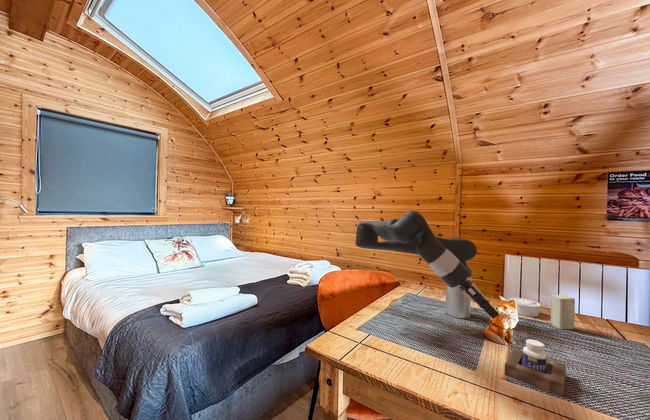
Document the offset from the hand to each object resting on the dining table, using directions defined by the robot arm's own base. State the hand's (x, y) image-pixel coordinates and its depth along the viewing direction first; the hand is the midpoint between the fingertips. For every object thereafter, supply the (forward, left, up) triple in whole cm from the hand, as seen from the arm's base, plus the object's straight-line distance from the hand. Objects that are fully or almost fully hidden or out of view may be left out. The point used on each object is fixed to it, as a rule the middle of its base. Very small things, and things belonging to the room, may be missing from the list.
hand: (490, 310), depth 76 cm
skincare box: (+13, +55, -17) cm, 59 cm away
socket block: (+10, +6, -16) cm, 20 cm away
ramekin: (0, +62, -17) cm, 64 cm away
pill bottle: (+10, +6, -17) cm, 20 cm away
